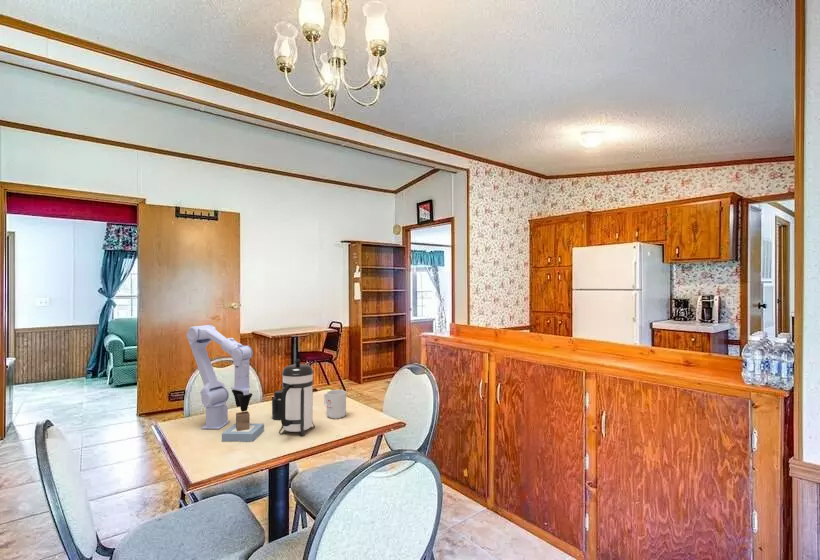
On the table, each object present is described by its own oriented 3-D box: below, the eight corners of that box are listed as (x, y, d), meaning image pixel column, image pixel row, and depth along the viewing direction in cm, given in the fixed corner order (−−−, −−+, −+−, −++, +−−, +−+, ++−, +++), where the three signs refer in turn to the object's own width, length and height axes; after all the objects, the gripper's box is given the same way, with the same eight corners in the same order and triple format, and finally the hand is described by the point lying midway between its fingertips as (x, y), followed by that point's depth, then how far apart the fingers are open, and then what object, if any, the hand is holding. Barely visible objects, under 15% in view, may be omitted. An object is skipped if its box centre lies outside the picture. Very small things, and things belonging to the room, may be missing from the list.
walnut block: (235, 427, 168) (236, 412, 168) (247, 425, 170) (247, 411, 170) (237, 431, 164) (237, 415, 164) (249, 429, 166) (249, 414, 166)
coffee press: (272, 428, 176) (273, 357, 176) (310, 423, 183) (311, 354, 184) (280, 442, 161) (281, 364, 161) (321, 435, 168) (322, 361, 168)
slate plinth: (235, 430, 173) (235, 423, 173) (263, 430, 173) (263, 423, 173) (221, 441, 161) (221, 433, 161) (252, 441, 161) (252, 434, 161)
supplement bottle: (282, 414, 195) (282, 388, 195) (290, 417, 191) (290, 391, 191) (268, 418, 190) (269, 391, 190) (277, 421, 185) (277, 394, 185)
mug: (349, 415, 194) (350, 391, 194) (336, 420, 187) (336, 395, 187) (331, 411, 201) (331, 387, 201) (317, 415, 194) (317, 391, 194)
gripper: (227, 373, 176) (227, 406, 176) (236, 380, 164) (235, 414, 164) (245, 371, 180) (244, 403, 180) (254, 378, 168) (254, 411, 168)
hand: (241, 408), depth 172 cm, fingers open, 7 cm apart
